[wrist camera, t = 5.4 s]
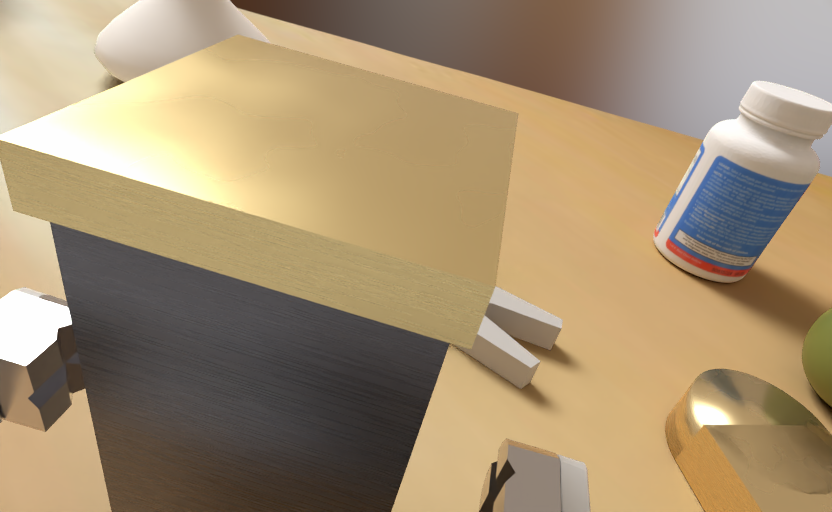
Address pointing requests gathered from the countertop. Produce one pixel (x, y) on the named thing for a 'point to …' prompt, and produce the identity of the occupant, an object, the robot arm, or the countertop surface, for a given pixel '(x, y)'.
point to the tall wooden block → (265, 270)
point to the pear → (819, 356)
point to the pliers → (519, 322)
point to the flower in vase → (167, 34)
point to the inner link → (750, 446)
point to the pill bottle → (743, 183)
